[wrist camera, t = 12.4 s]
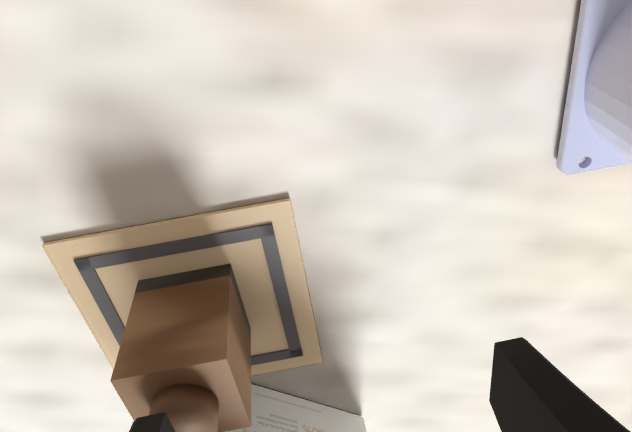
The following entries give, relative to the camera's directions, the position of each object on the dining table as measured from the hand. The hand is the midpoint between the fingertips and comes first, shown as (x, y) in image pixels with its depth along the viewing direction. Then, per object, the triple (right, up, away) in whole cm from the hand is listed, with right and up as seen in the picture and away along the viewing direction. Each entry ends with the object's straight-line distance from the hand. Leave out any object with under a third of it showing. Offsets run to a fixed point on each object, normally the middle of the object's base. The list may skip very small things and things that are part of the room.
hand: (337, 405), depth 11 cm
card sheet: (-6, 0, +12) cm, 13 cm away
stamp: (-6, 0, +11) cm, 13 cm away
